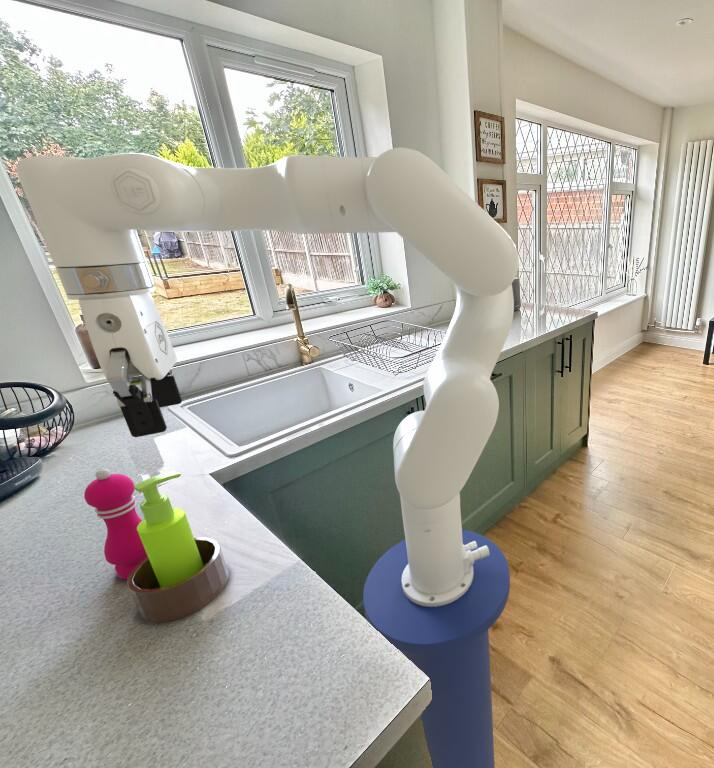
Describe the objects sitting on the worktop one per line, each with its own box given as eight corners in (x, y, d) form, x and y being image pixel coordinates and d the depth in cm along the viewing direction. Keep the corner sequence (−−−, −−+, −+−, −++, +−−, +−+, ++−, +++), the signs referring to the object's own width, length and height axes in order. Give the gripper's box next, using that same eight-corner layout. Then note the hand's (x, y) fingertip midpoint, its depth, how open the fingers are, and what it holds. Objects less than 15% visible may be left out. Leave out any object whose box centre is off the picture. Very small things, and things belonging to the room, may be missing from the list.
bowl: (230, 555, 76) (222, 528, 74) (225, 602, 66) (216, 573, 64) (149, 580, 71) (138, 553, 69) (131, 635, 61) (117, 605, 59)
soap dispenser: (220, 574, 71) (186, 474, 64) (173, 604, 65) (130, 498, 58) (203, 561, 74) (169, 464, 67) (156, 589, 68) (114, 486, 61)
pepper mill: (114, 564, 74) (71, 468, 67) (165, 545, 79) (130, 453, 72) (113, 589, 69) (67, 487, 62) (168, 566, 74) (130, 470, 67)
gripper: (129, 286, 41) (183, 438, 47) (167, 273, 55) (204, 391, 61) (25, 294, 38) (97, 456, 44) (93, 277, 52) (140, 402, 58)
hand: (160, 418), depth 53 cm, fingers open, 9 cm apart
